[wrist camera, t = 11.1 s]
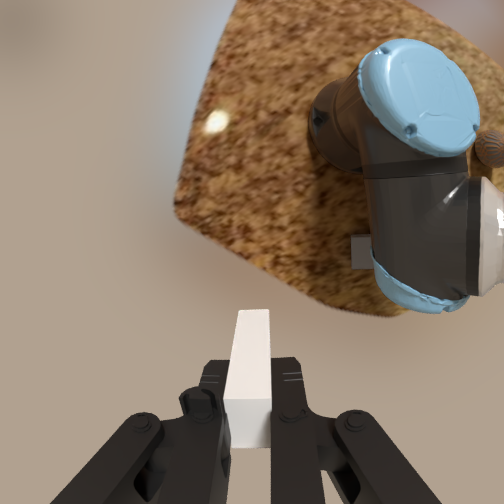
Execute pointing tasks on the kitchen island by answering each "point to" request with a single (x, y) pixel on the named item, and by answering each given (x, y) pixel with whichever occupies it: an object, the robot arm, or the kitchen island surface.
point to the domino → (361, 252)
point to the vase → (490, 148)
